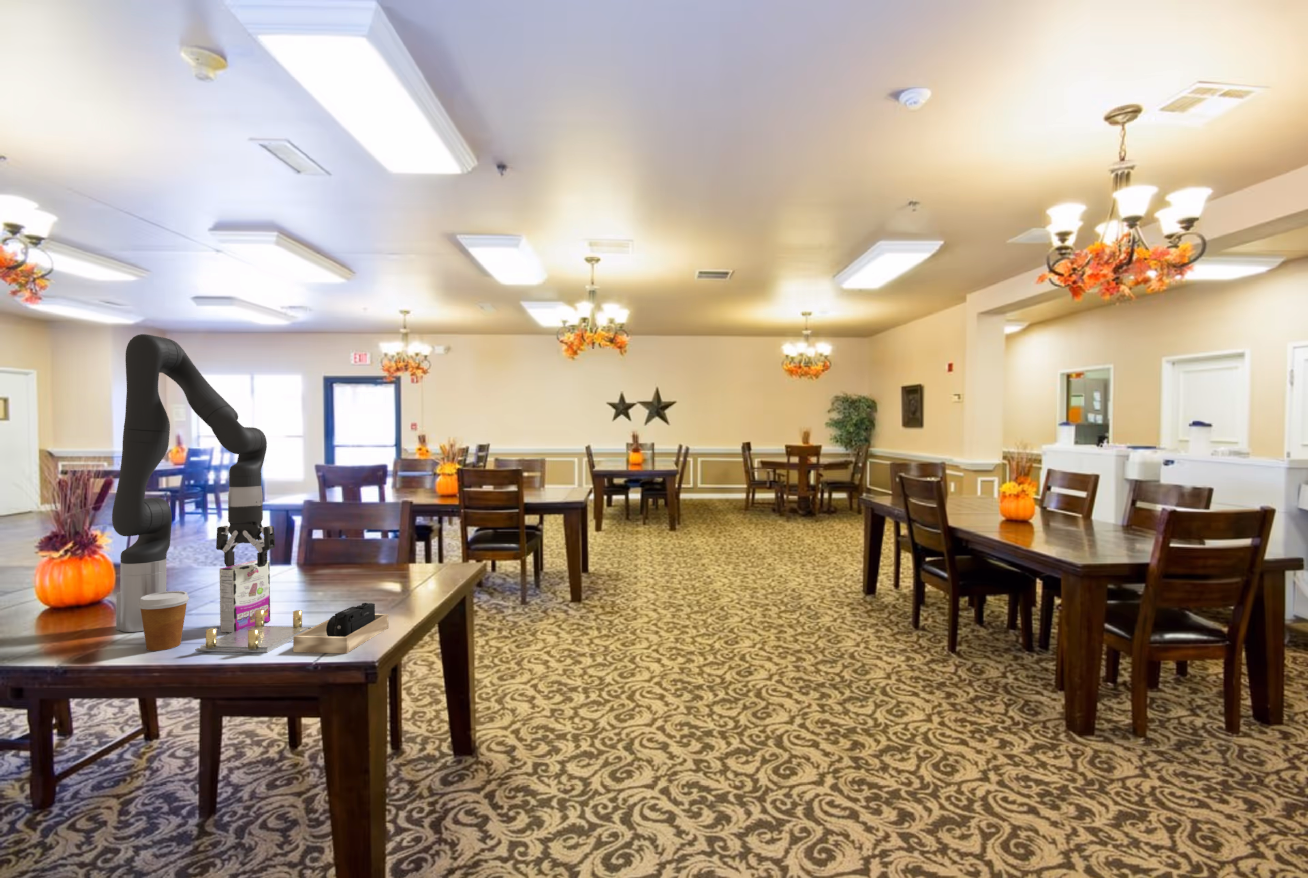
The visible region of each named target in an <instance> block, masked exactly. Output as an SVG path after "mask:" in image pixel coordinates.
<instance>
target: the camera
mask: <svg viewBox="0 0 1308 878" xmlns="http://www.w3.org/2000/svg"><path fill="white" fill-rule="evenodd" d="M375 614H376V604H375V603H374V602H373V603H372V602H362V603H361V604H359V605H356V606H350V607H348V608H346V609H343V610H341V611H339V612H337V613H335V614H334V615H333V616H331V617H330V618H329V619H328V620H329V621H328V623H327V627H326V632H327V636H332V637H346V636H348V635H349V634H351V633H353V632H355V631H357V630H358V629H360V628H362V627H364V626H365V625H367V624H369V623H371V622H373V621H374V620H375Z"/></svg>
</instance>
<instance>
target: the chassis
mask: <svg viewBox="0 0 1308 878" xmlns="http://www.w3.org/2000/svg"><path fill="white" fill-rule="evenodd" d="M310 628H312V627H310V626H308V627H307V626H303V610H302V609H296V610H293V611H292V626H275V625H274V626H272V625H271V626H270V625H269V626H268V625H265V623H264V609H260V610H256V611H255V626H250V627H244V628H242V629H240V630H237V631H235V632H232V633H227V634H225V635H223V636H221V637H219V638H218V637H217V630H218V629H217V627H210V628H207V629H205V643H204V644H201V645H200V646H199V647H197V648H195V649H194V650H195V651H196V652H197V651H200V652H225V653H230V652H231V653H236V652H237V653H265V654H266V653H270V652H271V651H274V650H275V649H277V648H279V647H282V646H283V645H285V644H287V643H290V642H293V637H294V636H296V635H298V634H300V633H302V632H304V631H306V630H308V629H310Z"/></svg>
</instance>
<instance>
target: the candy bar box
mask: <svg viewBox="0 0 1308 878" xmlns="http://www.w3.org/2000/svg"><path fill="white" fill-rule="evenodd" d="M270 563H271V562H270V560H267V564H266V565H265V566H263V567H258V566H257V559H256V560H251V561H247V562H246V561H245V562H241V563H238V564H234V565H233V566H229V567H226V566H225V567H220V568H219V607H220V608H219V613H220V614H219V615H220V617H219V619H220V620H219V621H220V623H219V624H220V626H219V627H220V633H223V634H230V633H232V632H235V631H237V630H240V629H242V628H244V627H250V626H255V611H256V610H260V609H264V624H267V623H268V622H271V586H270V585H271V584H270V583H271V582H270V581H271V578H270V576H271V574H270V573H271V572H270V571H271V570H270Z"/></svg>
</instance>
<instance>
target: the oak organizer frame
mask: <svg viewBox="0 0 1308 878" xmlns="http://www.w3.org/2000/svg"><path fill="white" fill-rule="evenodd" d="M389 616H390V615H389V613H375V620H374V621H373V622H371V623H369V624H367V625H365V626H364V627H362V628H360V629H358V630H357V631H355V632H353V633H351V634H349V635H348V636H346V637H332V636H327V632H326V627H327V623H328V621H329V619H327V620H325V621H323V622H320V623H319V624H317V625H315V626H312V627H311V628H310V629H308V630H306V631H304V632H302V633H300V634H298V635H296V636H294V637H293V640H292V642H293V644H292V645H293V647H292V649H293V651H292V652H293V653H316V654H317V653H320V654H321V653H322V654H349V653H350V652H351V651H353V650H355V649H357V648H358V647H359V646H361V645H363V644H364V643H366V642H368V641H370V639H372V638H374V637H375V636H377V635H379V634H381V633H383V632H384V631H385V630H387V629H389V627H390V626H389Z"/></svg>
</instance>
